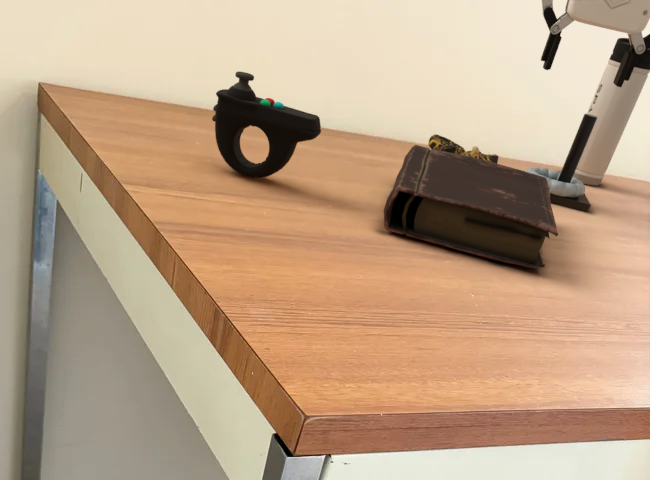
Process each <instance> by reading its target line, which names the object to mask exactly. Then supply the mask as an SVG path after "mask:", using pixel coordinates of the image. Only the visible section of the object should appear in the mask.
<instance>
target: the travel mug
mask: <svg viewBox="0 0 650 480" xmlns="http://www.w3.org/2000/svg"><path fill="white" fill-rule="evenodd" d="M630 46H631V44H630V41H629V37H618V38H617V40H616V42H615V44H614V47H613V49H612V53H611V54H610V57H609V58H608V60H607V64H606V66H605V68H604V70H603V73H602V75H601V78H600V80H599V82H598V84H597V87H596V90H595V92H594V94H593V97H592V100H591V102H590V104H589V107H588V110H587V112H586V114H590V115H593V116H596V117H597V120H596V122H595V125H594V127H593V130H592V132H591V134H590V137H589V139H588V142H587V144H586V146H585V149H584V151H583V154H582V156H581V158H580V161H579V163H578V166H577V168H576V170H575V173H574V175H573V177H575V178H576V179H578V180H580V181H582V182H583V184H584V185H585V186H593V187H597V186H600V185H601V184H602V181H603V180H604V177H605V174H606V172H607V170H608V168H609V166H610V164H611V161H612V159H613V156H614V154H615V152H616V150H617V148H618V145H619V143H620V140H621V138H622V136H623V134H624V132H625V128H626V127H627V124H628V122H629V120H630V118H631V115H632V113H633V111H634V109H635V107H636V104H637V102H638V100H639V97H640V96H641V93H642V90H643V89H644V86H645V84H646V81H647V79H648V77H649V74H650V48H648V49H647V50H645V51H644V52H643V53H642V54H640V55H639V57H638V59H637V62H636V64H635V67H634V69H633V72H632V74H631V76H630V79H629V80H628V81H626V80H624V83H623V85H622V87H617V86H616V85H615V84H614V83H613V82H614V79H615V76H616V74H617V71H618V69H619V66H620V64H621V61H622V59H623V56H624V54H625V52H626V51H627V50H629V48H630Z"/></svg>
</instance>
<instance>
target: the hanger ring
mask: <svg viewBox="0 0 650 480" xmlns="http://www.w3.org/2000/svg"><path fill="white" fill-rule="evenodd" d="M524 171H525V172H528V173H532V174H535V175H539V176H543V177H546V179H547V182H548V186H549V191H550V194H554V195H557V196H562V197H569V198H575V197H579V196H581V195H583V194H584V193H585V192H586V185H585V184H583V182H582V181H580V180H578V179H576V178H575V177H573V178H572V180H571V182H570V183H565V182H561V181H557V180H558V178H559V175H560V173H561V171H559V170H554V169H551V168H547V167H541V166H531V167H527V168H526V169H525V170H524Z"/></svg>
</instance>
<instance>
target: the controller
mask: <svg viewBox="0 0 650 480" xmlns="http://www.w3.org/2000/svg"><path fill="white" fill-rule="evenodd" d="M234 76H235V77H236V78H237V79H238V82H236V83H234V84H233V85H231V86H229V88H228V89H226V88H224V89H220V90H218V91H216V93H215V95H216V97H217V102H216V104H215V105H214V106H213V108H212V110H213V111H214V113H215V114H214V115H213V116H212V118H211V120H212V122H214V131H215V132H214V133H215V142H216V146H217V148H218V152H219V153H220V155H221V157H222V159H223V160H224V162H225V163H226V164H227V165H228V167H230V168H231V169H232V170H233V171H234V172H236V173H238V174H239V175H241V176H244V177H246V178H252V179H262V178H263V179H264V178H267V177H270V176H272V175H274V174H276V173H278V172H279V171H281V170H283V168H284V167H285V166H286V165H287V164H288V163H289V162H290V161H291V158H292V157H293V155H294V153H295V150H296V148H297V146H298V143H301V142H308V141H313V140H315V139H316V138H317V137H318V136H319V135H320V134H321V133H322V129H321V128H322V127H321V119H320V116H319V115H316V114H313V113H309V112H306V111H303V110H299V109H296V108H293V107H290V106H286V105H285V104H283V103H282V102H281V101H275V100H274V99H273V98H271V97H267V98H265V99H264V98H261V97H258V96H256V93H255V91H254V90H253V89H252V86H250V83H249V82H253V81H254V80H255V76H254V74H251V73H249V72H245V71H236V72H235V75H234ZM250 126H251V127H253V128H254V127H255V128H258V129H260V130H261V131H262V132H263V133H264V134H265V136H266V138H267V141H268V153H267V156H266V158H265V160H263V161H261V162H258V163H255V162H253V161H250V160H249V159H248V158H247V157H246V156H245V155H244V153H243V151H242V148H241V137H242V134H243V133H244V130H245V129H246V128H249V127H250Z"/></svg>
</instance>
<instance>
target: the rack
mask: <svg viewBox="0 0 650 480" xmlns="http://www.w3.org/2000/svg"><path fill="white" fill-rule="evenodd" d="M596 120H597V117H596V116H593V115H590V114H587V113H584V114H583V117H582V119H581V121H580V124H579V126H578V128H577V131H576V134H575V136H574V139H573V142H572V144H571V146H570V149H569V151H568V154H567V156H566V159H565V160H564V164H563V166H562V168H561V170H560V172H561V173H560V175H559V178H558V180H557V181H561V182H565V183H570V182H571V180H572V178H573V175H574V173H575V170H576V168H577V166H578V163H579V161H580V158H581V156H582V154H583V151H584V149H585V146H586V144H587V142H588V139H589V137H590V134H591V132H592V130H593V127H594V125H595V122H596ZM550 201H551V204H556V205H559V206H562V207H566V208H570V209H574V210H578V211H582V212H586V213H588V212H589V211H590V208H591V206H592V205H591V203H590V201H589V198H588V197H587V195H586V193H585V192H584V194H583V195H581V196H579V197H575V198H569V197H562V196H557V195H554V194H550Z"/></svg>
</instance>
